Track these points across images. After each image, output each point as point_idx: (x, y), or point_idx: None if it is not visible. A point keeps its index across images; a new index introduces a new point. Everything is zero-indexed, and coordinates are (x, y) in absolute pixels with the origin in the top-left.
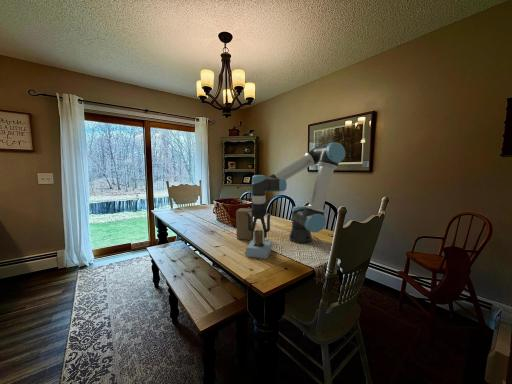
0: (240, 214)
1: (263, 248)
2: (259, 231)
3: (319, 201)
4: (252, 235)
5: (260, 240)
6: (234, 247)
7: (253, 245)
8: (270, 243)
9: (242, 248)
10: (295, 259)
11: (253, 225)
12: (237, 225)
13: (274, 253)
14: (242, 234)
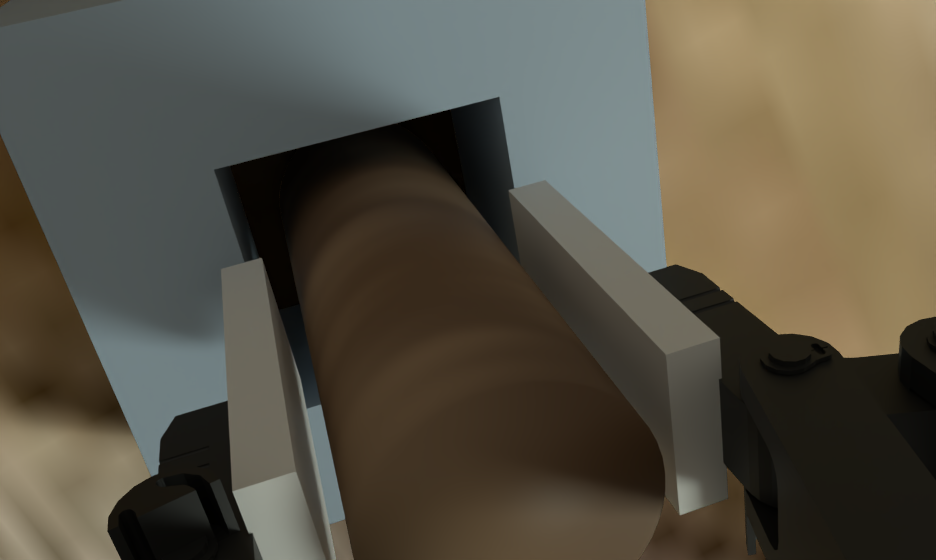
0: None
1: (130, 76)
2: (459, 462)
3: None
4: (680, 292)
5: (335, 269)
6: (917, 169)
7: (506, 134)
8: (151, 476)
9: (762, 206)
10: None
11: (920, 556)
12: None
13: (27, 330)
14: None
